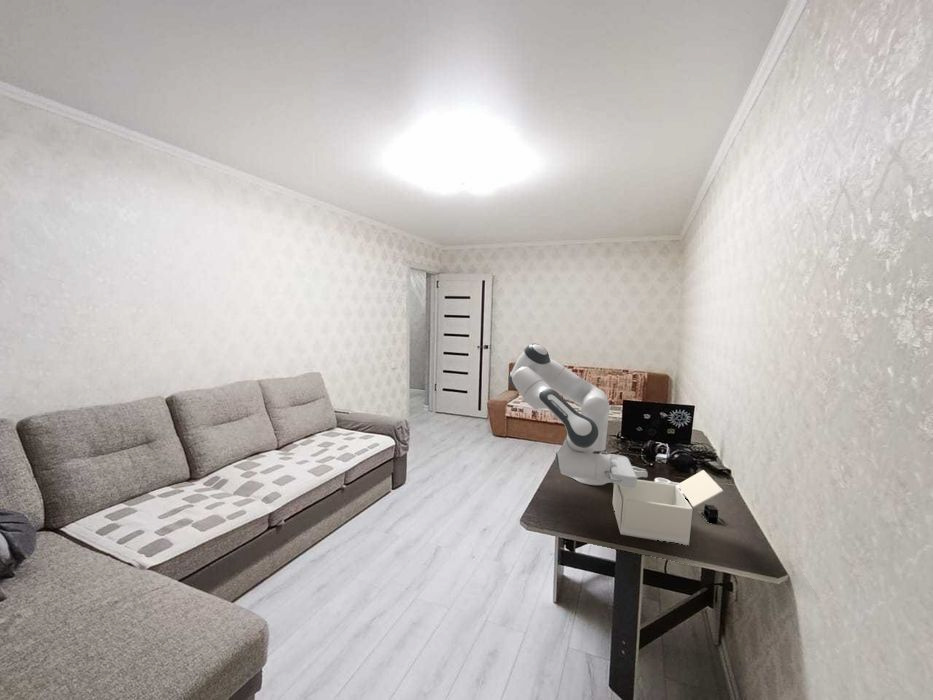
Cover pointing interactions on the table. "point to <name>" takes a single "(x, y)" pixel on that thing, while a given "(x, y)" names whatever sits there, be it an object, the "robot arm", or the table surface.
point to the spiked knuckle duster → (667, 483)
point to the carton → (653, 512)
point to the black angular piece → (711, 514)
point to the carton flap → (699, 488)
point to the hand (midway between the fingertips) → (646, 473)
